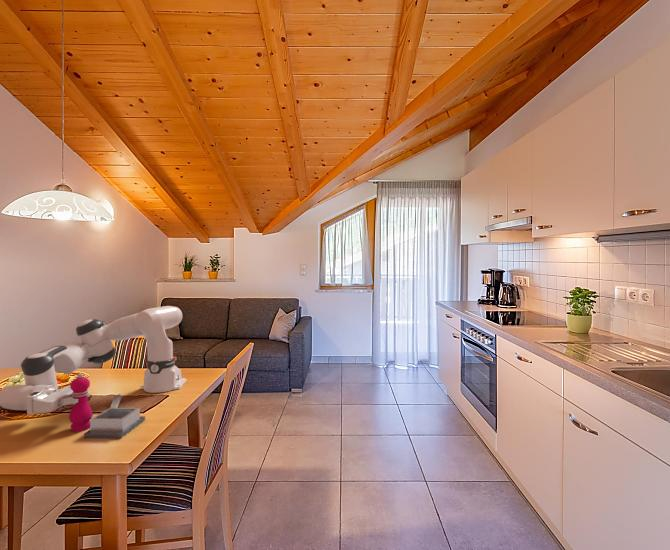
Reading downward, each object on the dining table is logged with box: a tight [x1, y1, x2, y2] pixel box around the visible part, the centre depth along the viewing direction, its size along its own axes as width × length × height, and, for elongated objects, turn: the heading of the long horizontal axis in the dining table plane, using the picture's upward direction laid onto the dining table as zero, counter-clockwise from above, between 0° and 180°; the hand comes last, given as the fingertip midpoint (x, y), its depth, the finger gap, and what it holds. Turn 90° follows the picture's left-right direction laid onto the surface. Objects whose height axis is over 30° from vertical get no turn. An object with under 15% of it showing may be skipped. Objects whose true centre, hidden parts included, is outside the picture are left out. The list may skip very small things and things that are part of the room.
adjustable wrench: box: [109, 394, 122, 408], centre depth 165 cm, size 25×6×2 cm, turn 17°
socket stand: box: [83, 407, 146, 439], centre depth 146 cm, size 16×13×6 cm
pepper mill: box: [68, 373, 93, 432], centre depth 147 cm, size 7×7×20 cm
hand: (82, 397), depth 147 cm, fingers closed on pepper mill, 5 cm apart
